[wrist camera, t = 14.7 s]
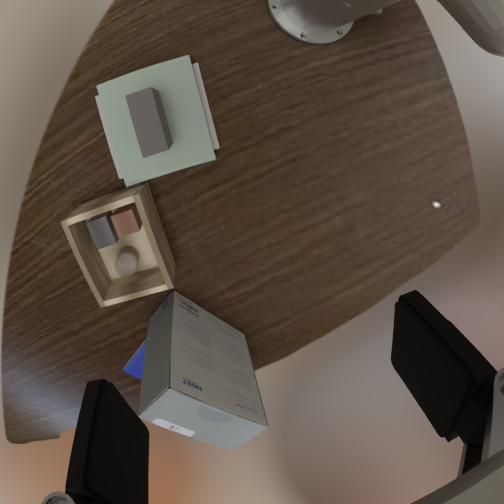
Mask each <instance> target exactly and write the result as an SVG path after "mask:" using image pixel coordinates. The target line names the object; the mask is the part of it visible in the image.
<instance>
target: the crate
mask: <svg viewBox="0 0 504 504" xmlns="http://www.w3.org/2000/svg"><path fill="white" fill-rule="evenodd" d="M61 224H62V227H63V229H64V232H65V234H66V236H67V239H68V241H69V243H70V246H71V248H72V250H73V252H74V254H75V257H76V259H77V261H78V263H79V265H80V267H81V269H82V272H83V274H84V276H85V278H86V280H87V282H88V284H89V286H90V288H91V290H92V292H93V294H94V296H95V298H96V299H97V301H98V303H99V305H100V307H105V306H108V305H112V304H116V303H120V302H123V301H127V300H131V299H134V298H138V297H142V296H146V295H149V294H153V293H157V292H160V291H164V290H168V289H171V288H174V280H175V268H176V262H175V259H174V257H173V254H172V251H171V248H170V246H169V243H168V240H167V237H166V235H165V232H164V229H163V226H162V223H161V220H160V217H159V214H158V211H157V209H156V206H155V203H154V200H153V197H152V194H151V190H150V187H149V184H148V181H144V182H141V183H138V184H135V185H132V186H129V187H127V188H124V189H121V190H118V191H115V192H112V193H109V194H107V195H104V196H101V197H98V198H96V199H93V200H90V201H88V202H85V203H82V204H80V205H78V206H77V207H76V208H74V209H73V210H72V211H71V212H70V213H69V214H68V215H67V216H66V217H65V218H64V219H63V220H62V221H61Z"/></svg>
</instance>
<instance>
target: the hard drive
mask: <svg viewBox="0 0 504 504" xmlns="http://www.w3.org/2000/svg"><path fill="white" fill-rule="evenodd" d="M145 346H146V340H145V341H144V342H143V344H142V345H141V346H140V347H139V349H138V350H137V351H136V353H135V354H134V355H133V356H132V358H131V359H130V360H129V362H128V363H127V364H126V366H125V367H124V370H123V371H125V372H126V373H128V374H130V375H132V376H134V377H136V378H138V379H140V380H142V372H143V363H144V354H145Z"/></svg>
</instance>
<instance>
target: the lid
mask: <svg viewBox="0 0 504 504" xmlns="http://www.w3.org/2000/svg"><path fill="white" fill-rule="evenodd" d="M97 89H98V93H99V97H100V101H101V105H102V108H103V112H104V116H105V119H106V123H107V126H108V130H109V133H110V137H111V140H112V143H113V147H114V150H115V153H116V157H117V160H118V163H119V166H120V169H121V172H122V175H123V178H124V181H125V184H126V187H128V186H131V185H134V184H137V183H140V182H143V181H146V180H149V179H152V178H155V177H158V176H161V175H165V174H168V173H171V172H174V171H178V170H181V169H184V168H188V167H191V166H195V165H198V164H202V163H205V162H209V161H212V160H216V158H215V154H214V150H213V146H212V142H211V138H210V135H209V131H208V127H207V123H206V119H205V115H204V111H203V108H202V104H201V100H200V96H199V92H198V88H197V84H196V80H195V76H194V72H193V68H192V64H191V60H190V57H189V55H187V56H183V57H179V58H176V59H172V60H169V61H165V62H162V63H159V64H155V65H152V66H149V67H146V68H143V69H140V70H137V71H134V72H131V73H129V74H126V75H123V76H120V77H118V78H115V79H112V80H110V81H107V82H105V83H102V84H100V85H97Z"/></svg>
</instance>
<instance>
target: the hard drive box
mask: <svg viewBox="0 0 504 504" xmlns="http://www.w3.org/2000/svg"><path fill="white" fill-rule="evenodd" d="M138 417H139V418H142V419H144V420H147V421H149V422H151V423H154V424H156V425H159V426H161V427H164V428H167V429H169V430H172V431H175V432H177V433H180V434H183V435H186V436H189V437H192V438H195V439H199V440H202V441H205V442H208V443H211V444H215V445H218V446H221V447H225V448H228V449H232V450H234V449H236V448H238V447H239V446H241V445H243V444H244V443H246V442H247V441H249V440H250V439H252V438H253V437H255V436H256V435H258V434H259V433H261V432H262V431H264V430H265V429H267V428H268V422H267V418H266V414H265V411H264V407H263V403H262V399H261V396H260V392H259V388H258V384H257V380H256V376H255V372H254V368H253V364H252V360H251V356H250V353H249V349H248V345H247V341H246V337H245V334H243V333H241V332H240V331H238V330H236V329H235V328H233V327H232V326H230V325H229V324H227V323H225V322H223V321H222V320H220V319H219V318H217V317H216V316H214V315H212V314H211V313H209V312H207V311H206V310H204V309H203V308H201V307H200V306H198V305H197V304H196V303H194V302H192V301H191V300H189V299H187V298H186V297H184V296H183V295H181V294H180V293H178V292H177V291H172V292H171V293H170V294H169V295H168V296H167V298H166V299H165V300H164V301H163V302H162V304H161V305H160V306H159V307H158V308H157V310H156V311H155V312H154V313H153V314H152V316H151V317H150V318H149V322H148V330H147V338H146V346H145V354H144V363H143V372H142V382H141V394H140V407H139V416H138Z"/></svg>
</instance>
